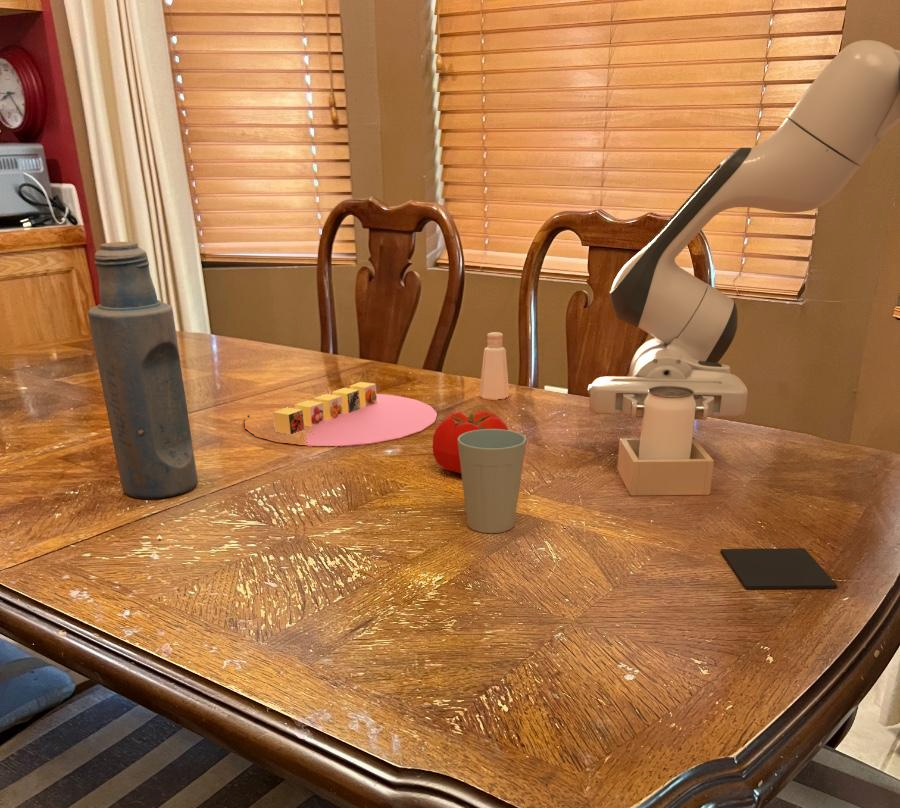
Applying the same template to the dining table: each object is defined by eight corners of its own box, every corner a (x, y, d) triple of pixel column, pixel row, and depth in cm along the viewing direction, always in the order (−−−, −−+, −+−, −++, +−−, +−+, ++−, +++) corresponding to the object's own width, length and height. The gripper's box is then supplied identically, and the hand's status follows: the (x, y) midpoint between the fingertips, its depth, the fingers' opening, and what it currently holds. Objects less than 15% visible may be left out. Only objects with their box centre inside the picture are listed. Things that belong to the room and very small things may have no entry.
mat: (803, 551, 93) (804, 547, 93) (836, 588, 85) (837, 585, 85) (720, 552, 93) (720, 548, 93) (745, 589, 85) (746, 586, 85)
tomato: (496, 454, 124) (497, 402, 121) (519, 478, 115) (521, 423, 111) (424, 460, 122) (423, 408, 119) (442, 486, 113) (441, 430, 109)
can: (628, 476, 115) (636, 386, 110) (673, 472, 116) (682, 383, 111) (649, 492, 109) (658, 398, 104) (695, 488, 111) (707, 395, 105)
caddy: (690, 469, 117) (694, 437, 115) (709, 495, 108) (714, 460, 106) (617, 470, 117) (619, 438, 115) (630, 495, 109) (633, 461, 106)
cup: (452, 514, 104) (452, 430, 99) (514, 510, 105) (517, 426, 100) (464, 539, 97) (464, 450, 92) (530, 534, 98) (533, 446, 93)
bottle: (162, 471, 119) (122, 237, 106) (214, 482, 115) (179, 240, 101) (106, 492, 112) (55, 244, 98) (159, 505, 108) (113, 248, 94)
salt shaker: (477, 400, 152) (478, 336, 147) (480, 392, 157) (480, 330, 152) (508, 400, 151) (509, 336, 146) (510, 393, 156) (511, 330, 151)
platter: (200, 428, 138) (197, 407, 137) (326, 386, 162) (325, 368, 161) (360, 459, 123) (358, 436, 121) (472, 407, 147) (473, 388, 146)
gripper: (589, 362, 120) (587, 385, 108) (741, 364, 117) (757, 389, 105) (586, 406, 123) (584, 434, 111) (734, 410, 120) (749, 439, 108)
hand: (669, 412), depth 108 cm, fingers closed on can, 6 cm apart
